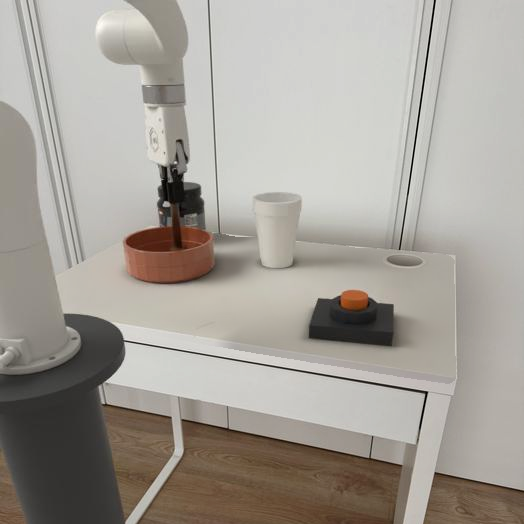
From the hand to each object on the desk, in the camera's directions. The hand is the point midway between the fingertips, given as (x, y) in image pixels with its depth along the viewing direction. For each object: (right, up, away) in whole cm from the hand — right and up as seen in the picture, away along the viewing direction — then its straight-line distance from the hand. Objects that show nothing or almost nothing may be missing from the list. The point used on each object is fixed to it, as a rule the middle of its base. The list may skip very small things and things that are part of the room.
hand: (173, 200), depth 101 cm
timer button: (+31, -22, -23) cm, 45 cm away
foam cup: (+20, -12, +4) cm, 24 cm away
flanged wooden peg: (0, -9, +5) cm, 11 cm away
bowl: (-1, -13, +2) cm, 13 cm away
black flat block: (+31, -26, -21) cm, 45 cm away
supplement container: (-1, -4, +18) cm, 19 cm away
